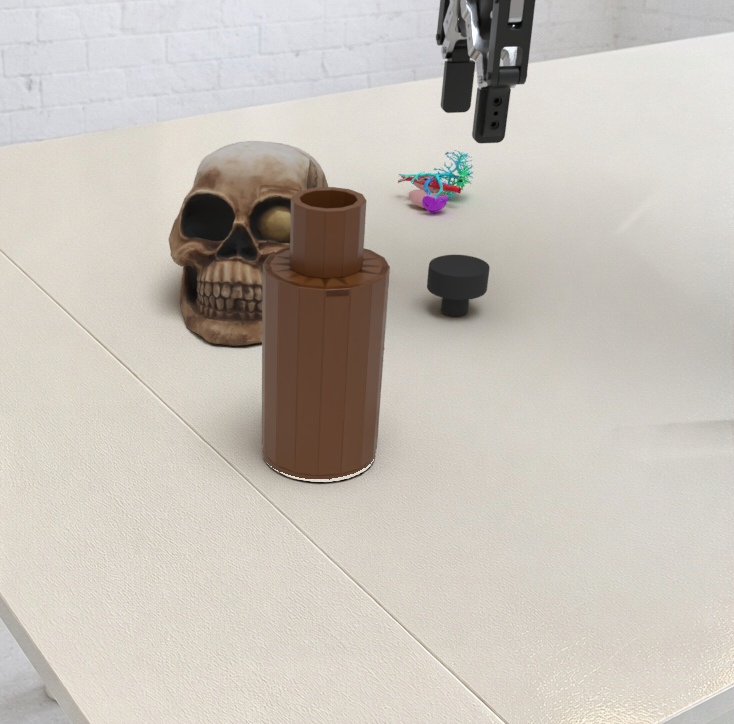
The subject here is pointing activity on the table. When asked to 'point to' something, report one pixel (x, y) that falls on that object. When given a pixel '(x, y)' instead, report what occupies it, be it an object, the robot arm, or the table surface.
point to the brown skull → (236, 234)
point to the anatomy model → (438, 184)
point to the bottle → (323, 339)
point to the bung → (457, 281)
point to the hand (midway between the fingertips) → (470, 125)
